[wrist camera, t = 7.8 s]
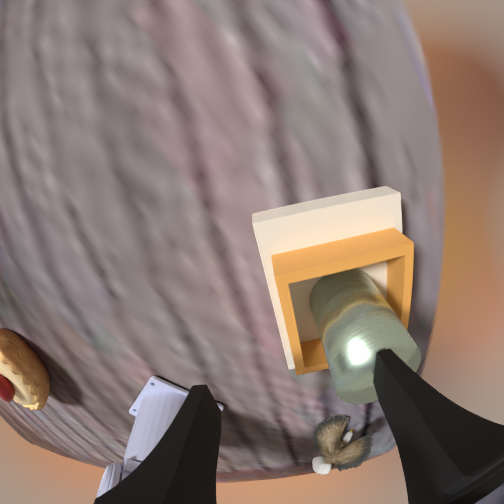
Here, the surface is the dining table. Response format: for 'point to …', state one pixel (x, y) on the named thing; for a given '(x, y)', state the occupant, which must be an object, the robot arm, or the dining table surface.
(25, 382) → the pastry
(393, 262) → the orange and cream box
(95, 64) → the dining table surface
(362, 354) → the green can
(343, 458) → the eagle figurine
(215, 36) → the dining table surface
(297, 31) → the dining table surface
